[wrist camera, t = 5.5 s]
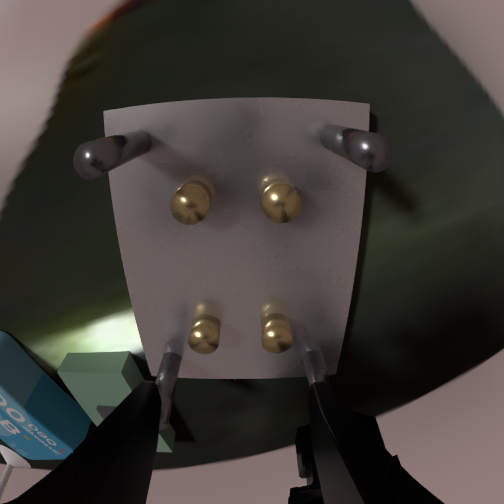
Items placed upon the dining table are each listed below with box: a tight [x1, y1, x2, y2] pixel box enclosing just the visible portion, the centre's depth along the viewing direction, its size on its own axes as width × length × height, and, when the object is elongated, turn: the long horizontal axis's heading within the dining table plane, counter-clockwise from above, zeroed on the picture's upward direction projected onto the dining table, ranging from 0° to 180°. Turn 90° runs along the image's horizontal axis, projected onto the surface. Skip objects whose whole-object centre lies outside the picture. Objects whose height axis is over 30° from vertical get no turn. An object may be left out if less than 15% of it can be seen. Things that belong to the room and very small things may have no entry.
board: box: [57, 351, 175, 452], centre depth 21 cm, size 6×10×3 cm, turn 9°
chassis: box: [73, 98, 393, 430], centre depth 14 cm, size 12×16×6 cm
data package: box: [0, 331, 91, 460], centre depth 20 cm, size 12×4×12 cm
